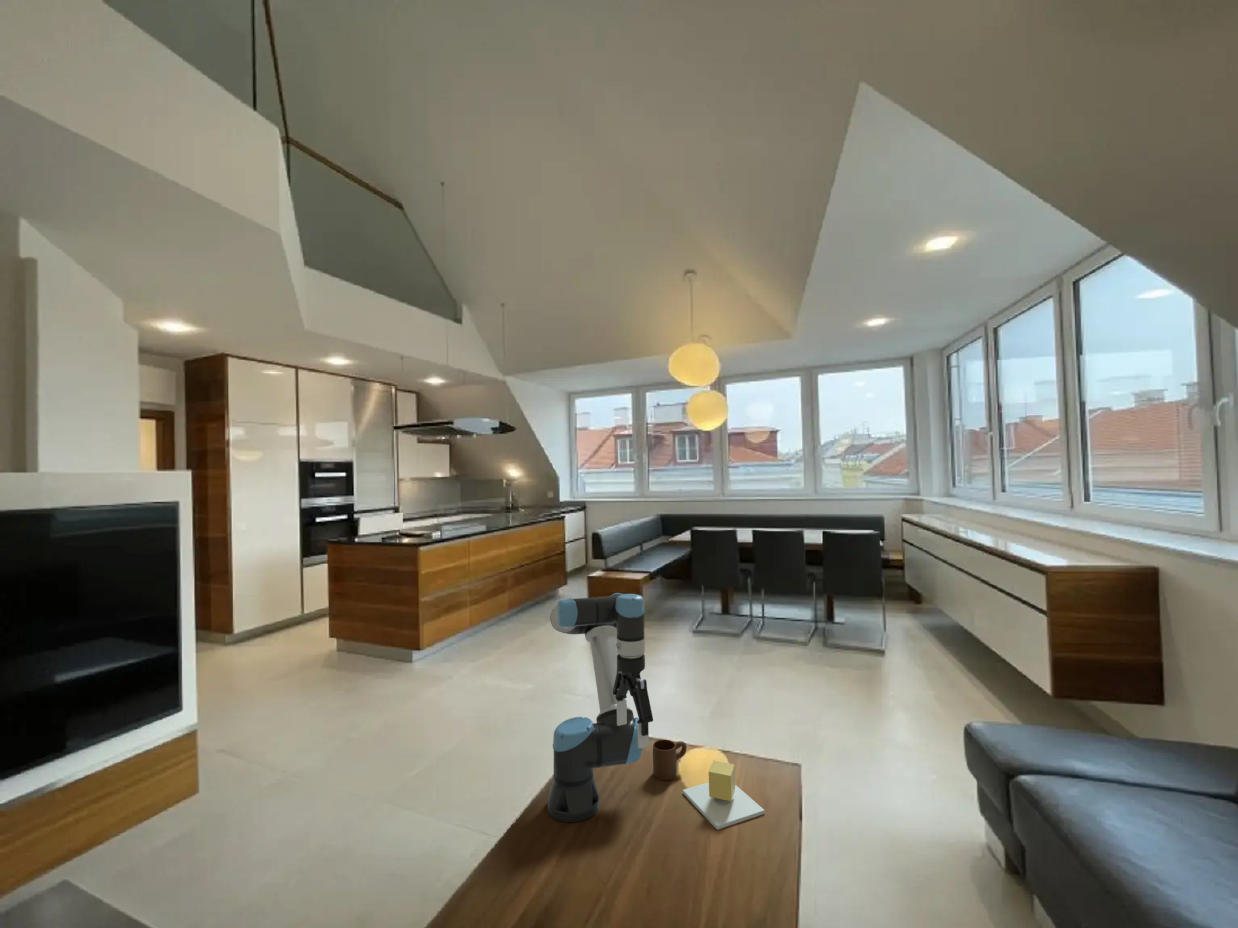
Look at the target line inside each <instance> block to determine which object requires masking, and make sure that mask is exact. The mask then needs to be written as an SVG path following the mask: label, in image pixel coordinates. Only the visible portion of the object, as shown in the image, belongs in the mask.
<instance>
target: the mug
mask: <svg viewBox="0 0 1238 928" xmlns="http://www.w3.org/2000/svg"><path fill="white" fill-rule="evenodd" d="M680 748H681V750H680V751H678V752H677V750H679V749H680ZM687 749H688V748H687V744H686V743H685V742H684V741H680V740H679V741H677V742H676V743H675V742H674V741H672V740H669V739H659V740H658V739H657V740H656V741H654V742H653V745H652V773H653V776H654V777H655V778H656V779H657V780H660V781H672V780H673V779H675V778H676V776H677V762H678V760H679V759H681V758H683V757H684V756H685V755H686V753H687Z"/></svg>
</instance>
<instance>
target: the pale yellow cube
mask: <svg viewBox="0 0 1238 928" xmlns="http://www.w3.org/2000/svg"><path fill="white" fill-rule="evenodd" d="M735 767H736V765H735V764H733V763H730V762H729V763H728V762H724V761H723V762H722V761H717V760H712V762H711V765H710V768H709V769H708V782H709V797H714V798H718V799H723V800H728V801H732V798H733V795H734V791H735V785H736V768H735Z"/></svg>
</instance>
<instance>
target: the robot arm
mask: <svg viewBox="0 0 1238 928" xmlns="http://www.w3.org/2000/svg"><path fill="white" fill-rule="evenodd" d="M644 602H645V601H644V597H643V596H642V595H640V594H636V593H620V592H615V593H613V594H611V595H609V596H596V597H595V596H594V597H584V598H583V597H579V598H566V599H560V600H559V601H558V602H557V605H556V606H555V607H554V608H552V611H551V612H550V616H549V619H550V624H551V626H552V627H553V629H554V630H555V631H557V632H560V633H562V634H567V635H584V637H585V640H586V642H587V643H589V644H590V649H591V655H592V656H591V657H592V663H593V671H594V677H595V684H596V692H597V693H596V694H597V699H598V700H597V701H598V706H599V713H598V714H597V716H596V717H595V719H596V720H595V721H596V722H593V720H592V719H590V718H589V717H582V716H575V717H572V718H568V719H565V720H564V721H562V722H561V723H559V724H558V725H557V726H556V727H555V729H554V731H553V739H552V741H553V742H552V749H553V781H552V783H551V787H550V791H549V794H548V796H547V797H548V798H547V811H548V814H549V815H550V816H551V817H552V818H553V819H555V820H557V821H559V822H563V823H578V822H582V821H586V820H587V819H588V820H589V819H590V818H592V817H593V816H594V815H595V814H596V813H597V812H598V811H599V809H600V805H601V804H600V793H599V790H598V786H597V784H596V781H595V777H594V769H599V768H605V767H612V766H620V765H627V764H631V763H636V762H638V761H639V760H640V758H641V757H642V752H643V749H644V748H648V747H649V746H650V744H649V743H650V742H649V741H650V739H649V737H650V736H649V733H650V732H649V723H653V721H654V717H653V711H652V707H651V703H650V702H651V701H650V697H649V692H648V685H647V684H648V683H647V682H648V681H647V679H641V678H642V677H641V673H642V671H644V670H645V669H646V656H645V653H646V647H645V645H646V641H645V639H646V638H645V604H644ZM628 692H629V695H630V696H631V697H632V700H633V703H634V706H635V710H636V713H637V717H635V716H634V711H633V709H632V708H630V707H628V703H627V698H628V697H627V694H628Z"/></svg>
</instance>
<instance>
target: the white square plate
mask: <svg viewBox="0 0 1238 928" xmlns="http://www.w3.org/2000/svg"><path fill="white" fill-rule="evenodd" d="M682 794H683V795H684V796H685V797H686V798H687V799H688V801H690V803H692V804H693V806H694V807H695V808H696V809H697V810H698V811H699V812H700V813H701V814H702V816H704V818H705V819H707V821H708V823H710V824H711V825H712V826H713V827H714V828H715V829H716V830H721V829H724V828H726V827H730V826H733V825H736V824H738V823H742V822H744V821H748V820H750V819H753V818H756V817H759V816H763V815H765V809H764V808H763V807H761V806H760V805H759V804H758V803H757V802H756V801H755V800H753V798H751V797H750V796H749V795H748V794H747V793H746V792H745V791H743V790H742V789H741V788H740V787H739V786H738V785H737V784H735V791H734V795H733V798H732V801H728V800H723V799H718V798H714V797H709V781H708V782H705V783H702V784H699V785H695V786H691V787H687V788H683V789H682Z"/></svg>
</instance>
